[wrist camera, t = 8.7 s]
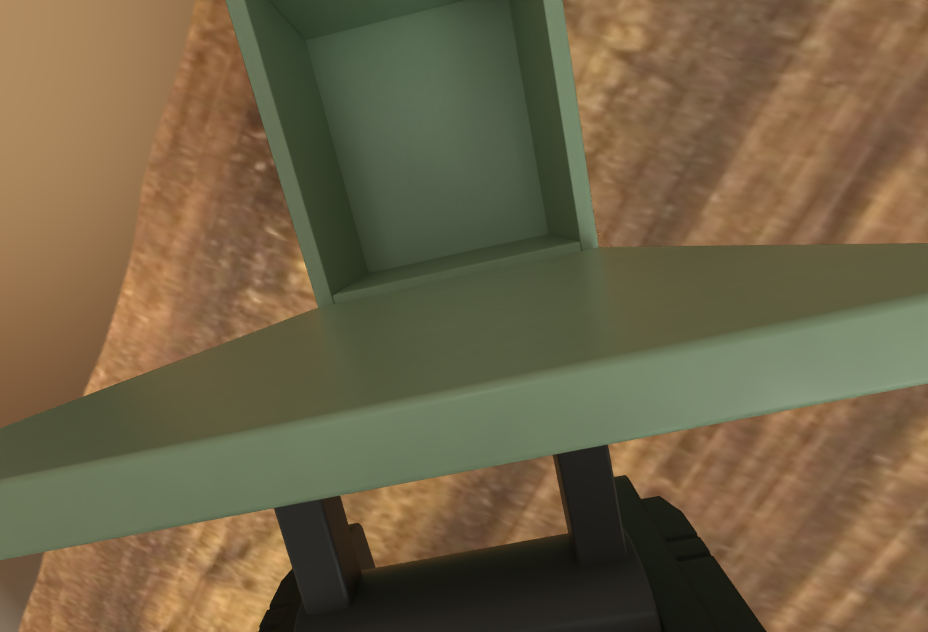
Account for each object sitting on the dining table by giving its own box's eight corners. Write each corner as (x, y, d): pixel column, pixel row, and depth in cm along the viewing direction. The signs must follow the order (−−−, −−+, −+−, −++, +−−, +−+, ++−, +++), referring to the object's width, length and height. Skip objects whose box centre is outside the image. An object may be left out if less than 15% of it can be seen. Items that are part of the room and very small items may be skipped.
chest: (293, 34, 26) (208, -55, 17) (516, -23, 25) (541, -144, 17) (362, 285, 29) (320, 314, 21) (560, 242, 29) (599, 254, 20)
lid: (-310, 544, 4) (-92, 949, 5) (1209, 237, 3) (1187, 774, 4) (314, 308, 20) (342, 411, 21) (601, 246, 20) (619, 355, 20)
